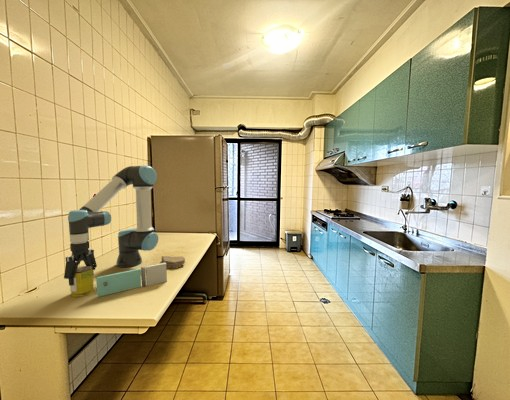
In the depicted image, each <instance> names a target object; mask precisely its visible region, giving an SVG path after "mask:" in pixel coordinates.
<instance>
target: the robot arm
mask: <svg viewBox="0 0 510 400" xmlns="http://www.w3.org/2000/svg"><path fill="white" fill-rule="evenodd" d="M157 179H158V175H157V172H156V171H155V169H154V168H153V167H152V166H150V165H134V166H133V165H129V166H127V167H125V168H122V169H121V170H120V171H118V172H117V173H116V174H114V176H112V177H111V180H110V181H109V182H108V183H107V184H106V185H105V186H104V187H103V188H102V189H101V190H99V191H98V192H97V193H96V194H95V195H94V196H93V197H92V198H91V199H90V200H88V201H87V202H86V203H85V204H84V205H82V206H81V208H80V209H75V210H70V211H69V212H68V216H67V221H68V230H69V232H68V233H69V243H70V245H69V247H70V249H69V250H70V251H71V255H69V256H66V257H65V266H64V267H65V268H64V274H63V279H67V280H68V286H69V287H70V289H69V290H70V291H69V292H71V291H72V292H76V291H77V285H76V278H74V277H75V274H76V271H77V268H78V267H79V265H80V264H81V262H83V263H84V266H92V270H93V276H94V271H95V270H96V268H97V267H98V266H97V265H98V264H97V261H96V258H95V257H96V256H95V250H94V249H90V233H89V232H90V231H89V229H92V228H97V227H104V226H107V225H109V224H111V221H112V214H110V212H109V211H107V210H105V211H103V210H102V208H104V207H105V206H106V205H107V204H108V203H109V202H110V201H111V200H112V199H113V198H114V197H116V195H117V194H118V193H120V191H121V190H122V189H126V188H127V187H128V186H130V185H132V188H133V189H134V190H135V205H136V206H135V207H136V208H135V209H136V227H135V228H131V229H129V228H128V229H122V230H119V231H118V234H117V241H118V243H117V244H118V256H117V258H116V262H115V265H116V266H117V267H118V268H130V267H135V266H138V265H141V264H142V263H143V260H142V256H141V253H140V251H144V252H146V251H148V252H149V251H153V250H154V249H155V248H156V246H157V245H158V243H159V234H158V233H156V232H155V228H154V227H153V225H152V201H151V200H152V199H151V198H152V197H151V190H152V189H153V188H154V184H156V182H157ZM71 275H72V276H71Z"/></svg>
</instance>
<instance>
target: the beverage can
mask: <svg viewBox="0 0 510 400" xmlns="http://www.w3.org/2000/svg"><path fill="white" fill-rule="evenodd" d="M93 272H94V270H92V266H86V265H83V266H78V268H77V271H76V274H75V277H74V278H76V285H77V291H76V292H72V291H70V293H71V294H70V296H71V297H73V298H80V297H81V298H82V297H85V296H89V295H90V294H92V293H93V292H94V290H95V289H94V275H93ZM71 276H72V275H71Z"/></svg>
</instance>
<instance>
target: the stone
mask: <svg viewBox="0 0 510 400" xmlns="http://www.w3.org/2000/svg"><path fill="white" fill-rule="evenodd" d="M185 259H186V258H185V257H184V256H169V255H164V256H163V255H162V256H161V261H160V262H161V263H166V269H178V268H182V267H183V265H184V264H185V262H186V261H185Z"/></svg>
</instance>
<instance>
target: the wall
mask: <svg viewBox="0 0 510 400" xmlns="http://www.w3.org/2000/svg"><path fill="white" fill-rule="evenodd" d="M140 273H141V287H142V288H145V287H149V286H153V285H157V284H162V283H165V282H168V278H167V277H168V276H167V274H168V273H167V268H166V263H162V262H161V263H157V264H156V263H155V264H152V265H150V264H149V265H146V266H141V267H140Z"/></svg>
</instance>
